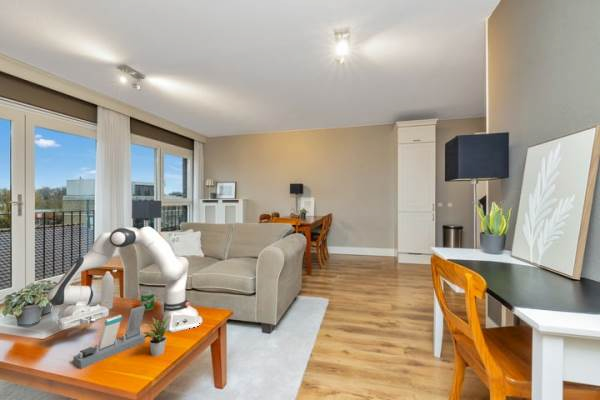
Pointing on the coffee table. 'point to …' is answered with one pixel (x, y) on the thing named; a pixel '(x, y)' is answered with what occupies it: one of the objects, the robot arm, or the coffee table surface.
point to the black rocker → (88, 350)
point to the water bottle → (107, 290)
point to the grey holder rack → (108, 350)
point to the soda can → (147, 300)
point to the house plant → (157, 337)
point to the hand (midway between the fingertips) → (91, 321)
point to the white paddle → (110, 331)
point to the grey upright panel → (134, 321)
